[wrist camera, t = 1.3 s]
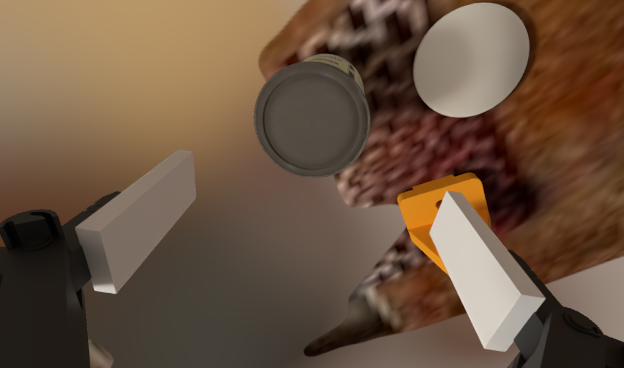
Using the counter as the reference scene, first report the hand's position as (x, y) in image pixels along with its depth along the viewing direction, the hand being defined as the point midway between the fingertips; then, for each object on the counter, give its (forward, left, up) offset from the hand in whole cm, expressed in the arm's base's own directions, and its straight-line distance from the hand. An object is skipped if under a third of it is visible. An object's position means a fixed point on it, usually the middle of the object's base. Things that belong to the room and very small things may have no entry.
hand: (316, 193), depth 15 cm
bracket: (-18, +10, -26) cm, 33 cm away
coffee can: (+2, 0, -26) cm, 26 cm away
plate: (-13, -8, -25) cm, 30 cm away
